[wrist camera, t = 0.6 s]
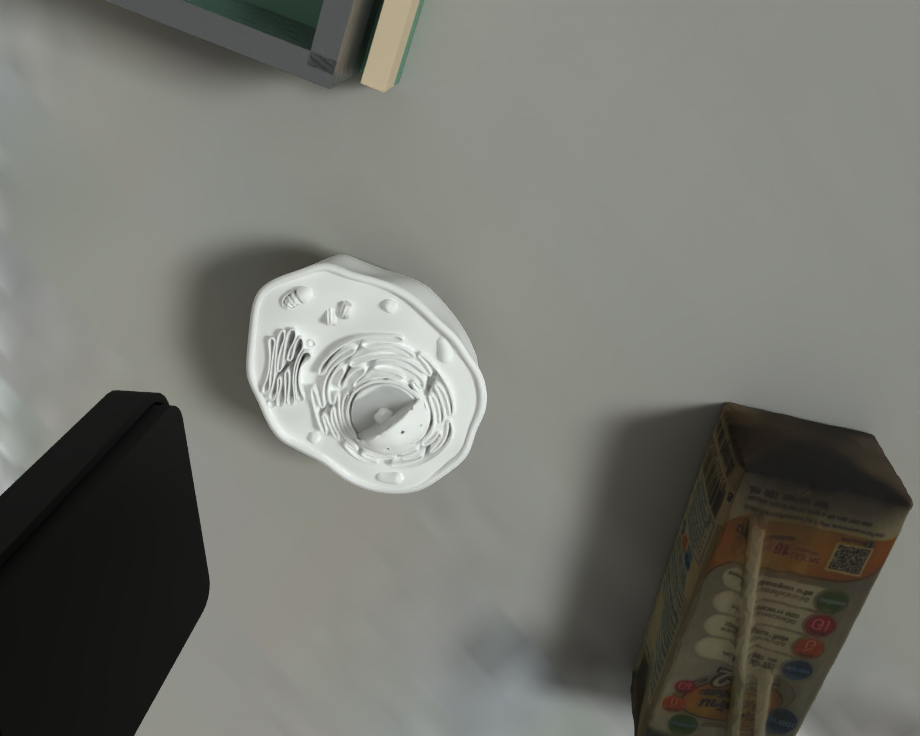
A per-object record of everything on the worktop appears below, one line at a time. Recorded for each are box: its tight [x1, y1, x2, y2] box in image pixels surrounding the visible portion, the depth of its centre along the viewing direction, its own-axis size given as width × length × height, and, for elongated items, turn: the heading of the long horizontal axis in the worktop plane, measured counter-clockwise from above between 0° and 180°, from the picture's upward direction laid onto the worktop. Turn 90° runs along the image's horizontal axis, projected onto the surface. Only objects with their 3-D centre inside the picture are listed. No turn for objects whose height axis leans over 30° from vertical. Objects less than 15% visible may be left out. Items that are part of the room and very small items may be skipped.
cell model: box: [246, 254, 487, 494], centre depth 38 cm, size 10×12×7 cm
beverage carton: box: [630, 403, 913, 736], centre depth 42 cm, size 8×19×7 cm, turn 171°
